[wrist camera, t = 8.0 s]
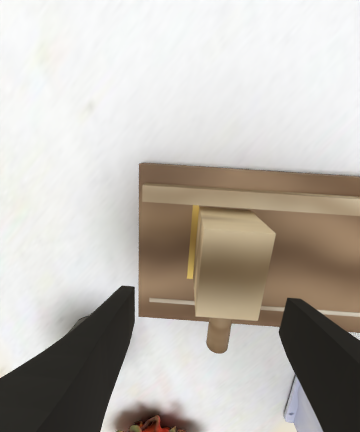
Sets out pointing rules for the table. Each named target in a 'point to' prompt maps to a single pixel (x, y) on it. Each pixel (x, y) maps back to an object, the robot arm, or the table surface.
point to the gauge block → (230, 269)
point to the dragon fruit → (151, 426)
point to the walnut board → (273, 217)
